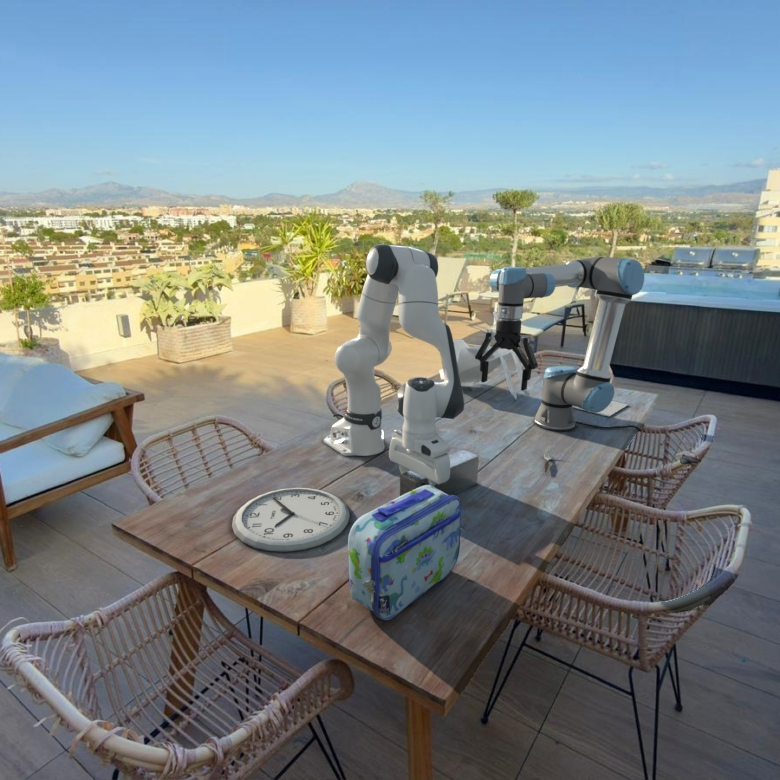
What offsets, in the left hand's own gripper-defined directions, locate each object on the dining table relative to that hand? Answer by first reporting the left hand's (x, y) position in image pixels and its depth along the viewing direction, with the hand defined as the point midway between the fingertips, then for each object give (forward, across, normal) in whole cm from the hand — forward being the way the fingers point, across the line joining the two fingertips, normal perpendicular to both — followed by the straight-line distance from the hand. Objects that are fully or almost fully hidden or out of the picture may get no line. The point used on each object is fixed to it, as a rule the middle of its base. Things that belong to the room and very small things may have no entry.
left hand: (417, 486), depth 142 cm
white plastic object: (+6, -55, +94) cm, 109 cm away
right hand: (-20, -4, +42) cm, 46 cm away
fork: (+6, +9, +51) cm, 52 cm away
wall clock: (+6, -16, -30) cm, 34 cm away
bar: (+6, 0, +9) cm, 11 cm away
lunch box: (+6, +24, -26) cm, 36 cm away
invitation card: (+6, -8, +120) cm, 120 cm away
